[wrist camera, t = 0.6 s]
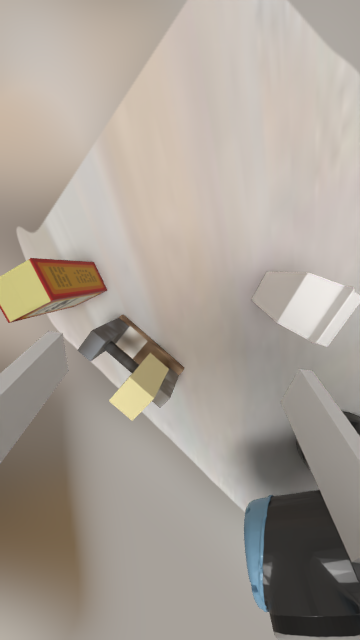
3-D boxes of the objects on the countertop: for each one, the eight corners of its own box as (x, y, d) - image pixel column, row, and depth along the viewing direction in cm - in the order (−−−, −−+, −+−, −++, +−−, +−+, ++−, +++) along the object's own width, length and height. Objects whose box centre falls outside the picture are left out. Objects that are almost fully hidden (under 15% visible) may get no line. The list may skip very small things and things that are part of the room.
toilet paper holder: (184, 367, 47) (173, 397, 36) (167, 384, 48) (152, 418, 37) (123, 314, 46) (93, 328, 35) (108, 333, 48) (76, 352, 37)
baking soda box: (74, 306, 48) (6, 323, 33) (60, 280, 47) (-16, 284, 32) (107, 290, 46) (51, 300, 30) (93, 262, 45) (28, 258, 29)
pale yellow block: (169, 369, 42) (154, 398, 32) (151, 387, 43) (132, 420, 34) (150, 352, 42) (129, 377, 32) (133, 372, 43) (108, 400, 34)
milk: (250, 299, 41) (283, 331, 20) (267, 270, 39) (321, 271, 18) (279, 313, 40) (344, 360, 19) (297, 284, 39) (389, 302, 18)
